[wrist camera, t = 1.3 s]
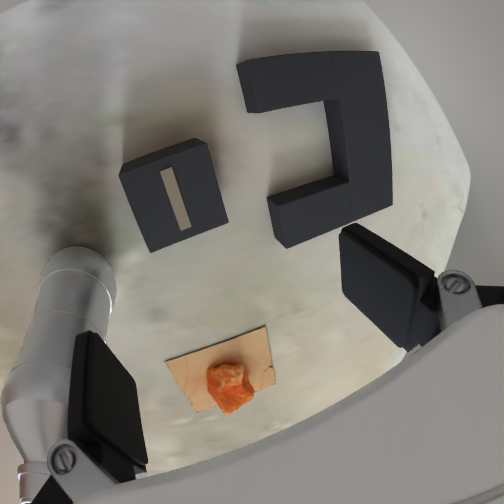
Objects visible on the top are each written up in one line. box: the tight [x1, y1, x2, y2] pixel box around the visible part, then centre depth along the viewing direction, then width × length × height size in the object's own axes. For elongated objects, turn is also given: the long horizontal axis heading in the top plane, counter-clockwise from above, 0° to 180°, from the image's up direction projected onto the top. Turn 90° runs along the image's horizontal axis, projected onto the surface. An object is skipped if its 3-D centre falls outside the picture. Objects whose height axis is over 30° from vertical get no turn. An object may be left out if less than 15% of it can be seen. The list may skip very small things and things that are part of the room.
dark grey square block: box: [119, 138, 228, 253], centre depth 20 cm, size 6×6×4 cm
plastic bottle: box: [1, 247, 116, 504], centre depth 14 cm, size 6×7×20 cm
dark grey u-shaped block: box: [236, 51, 393, 249], centre depth 24 cm, size 16×13×2 cm
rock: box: [165, 327, 276, 414], centre depth 33 cm, size 12×12×4 cm
